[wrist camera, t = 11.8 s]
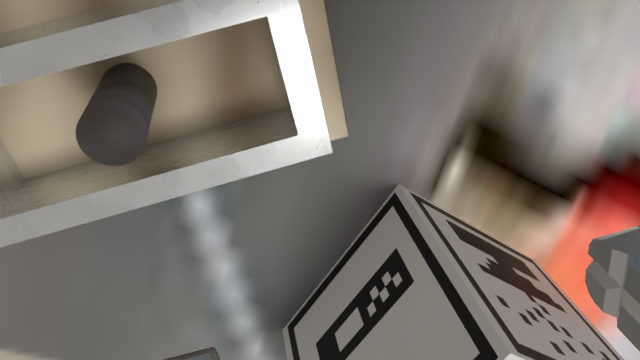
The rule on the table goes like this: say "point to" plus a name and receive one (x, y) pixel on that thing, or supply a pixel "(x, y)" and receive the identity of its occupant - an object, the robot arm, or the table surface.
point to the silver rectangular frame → (172, 154)
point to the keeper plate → (181, 76)
